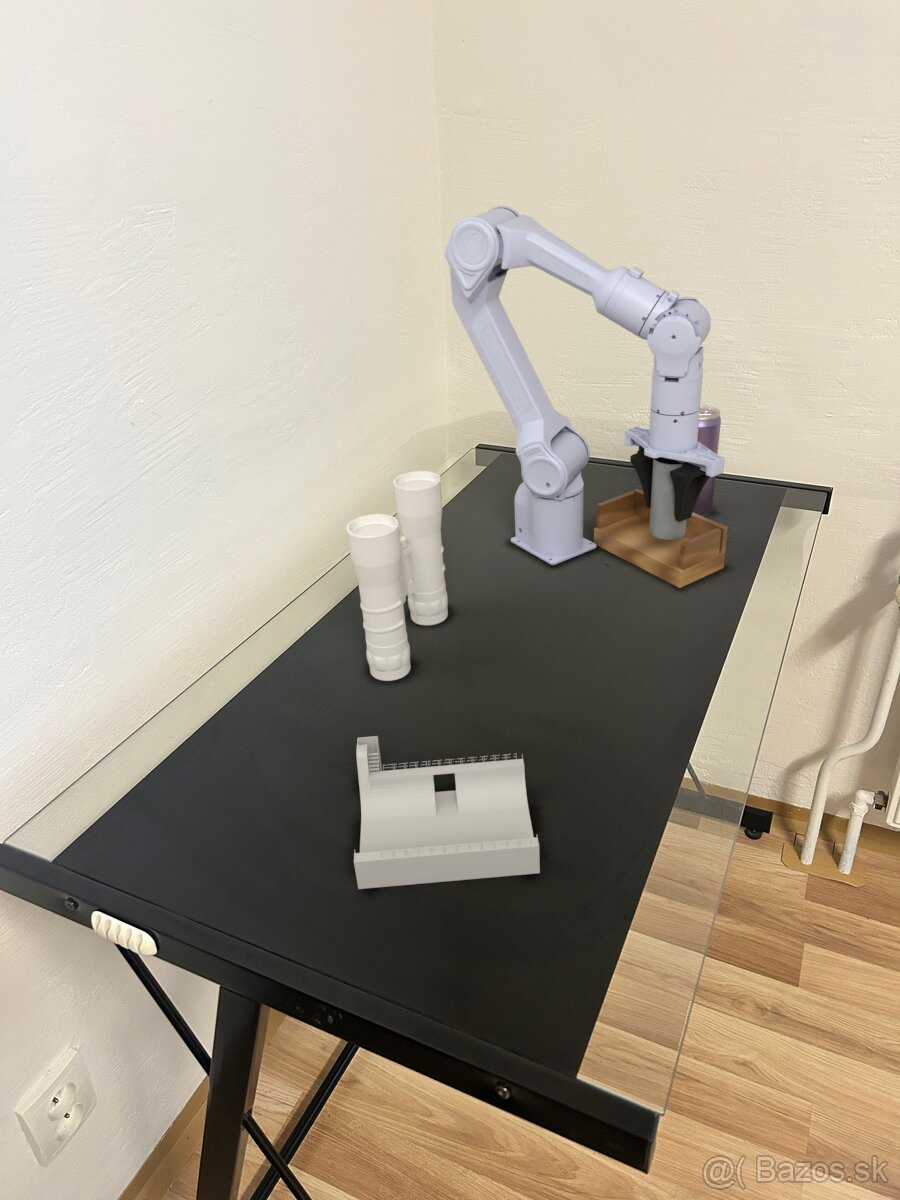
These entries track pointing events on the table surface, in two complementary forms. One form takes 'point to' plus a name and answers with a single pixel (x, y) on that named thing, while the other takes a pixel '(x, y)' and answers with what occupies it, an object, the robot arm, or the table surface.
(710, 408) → the beverage can
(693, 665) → the table surface
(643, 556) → the wooden tray
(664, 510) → the grey tube
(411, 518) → the binoculars
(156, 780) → the table surface
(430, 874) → the skate ramp
